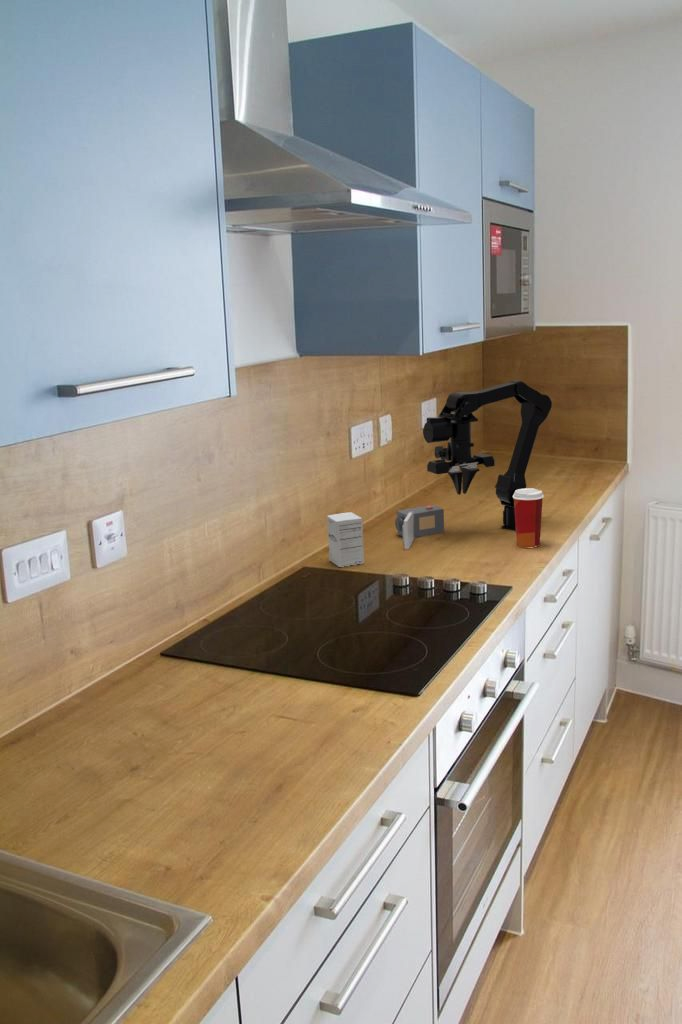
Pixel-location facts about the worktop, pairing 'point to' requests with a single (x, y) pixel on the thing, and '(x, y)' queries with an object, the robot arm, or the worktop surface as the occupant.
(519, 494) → the coffee cup
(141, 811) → the worktop surface
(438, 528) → the box
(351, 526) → the supplement box
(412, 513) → the side door
